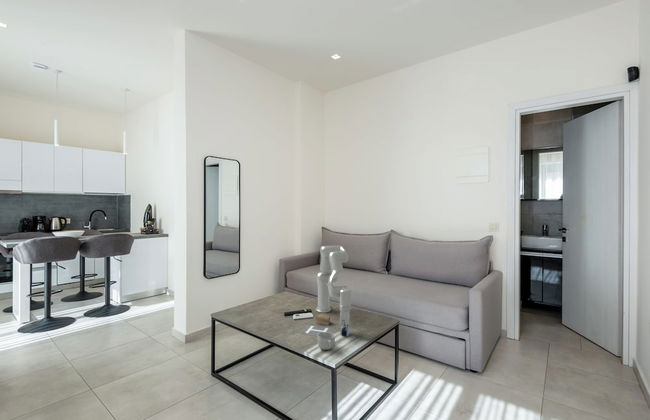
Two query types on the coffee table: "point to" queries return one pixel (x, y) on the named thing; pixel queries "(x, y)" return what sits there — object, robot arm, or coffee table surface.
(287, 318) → the coffee table surface
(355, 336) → the coffee table surface
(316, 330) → the letter card
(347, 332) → the blue cube
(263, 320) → the coffee table surface
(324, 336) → the teacup
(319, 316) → the walnut block
